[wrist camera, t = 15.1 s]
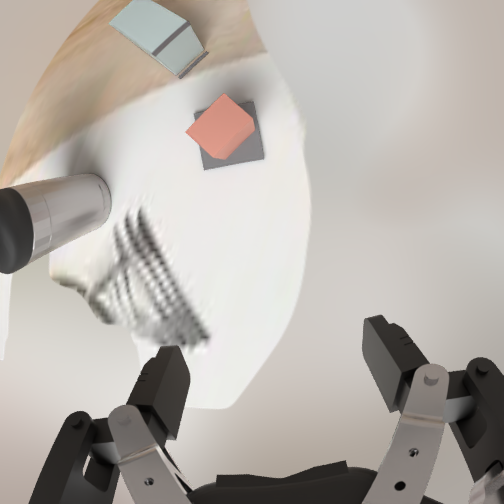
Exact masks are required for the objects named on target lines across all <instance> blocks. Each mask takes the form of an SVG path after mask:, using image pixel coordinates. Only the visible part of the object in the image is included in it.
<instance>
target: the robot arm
mask: <svg viewBox="0 0 504 504" xmlns="http://www.w3.org/2000/svg"><path fill="white" fill-rule="evenodd" d="M110 209H111V198H110V193H109V190H108V187H107V186H106V184H105V182H104V181H103V180H102V179H101V178H100V177H99V176H97V175H94V174H81V175H72V176H66V177H59V178H53V179H47V180H41V181H36V182H31V183H26V184H22V185H17V186H12V187H8V188H4V189H0V272H1V273H4V274H10V273H13V272H15V271H17V270H19V269H21V268H23V267H24V266H26V265H28V264H29V263H31V262H33V261H35V260H37V259H38V258H40V257H42V256H43V255H46V254H47V253H49V252H51V251H53V250H55V249H57V248H59V247H61V246H63V245H65V244H67V243H69V242H71V241H73V240H75V239H77V238H79V237H81V236H83V235H85V234H87V233H89V232H91V231H94V230H96V229H98V228H99V227H101V226H102V225H103V224H104V223H105V222H106V220H107V219H108V216H109V214H110ZM362 351H363V356H364V359H365V361H366V363H367V365H368V367H369V369H370V371H371V374H372V376H373V378H374V380H375V382H376V384H377V386H378V388H379V390H380V392H381V394H382V396H383V399H384V401H385V403H386V405H387V407H388V409H389V411H390V413H391V412H394V411H397V410H399V411H400V413H401V417H400V419H399V422H398V425H397V428H396V430H395V433H394V435H393V438H392V440H391V443H390V445H389V447H388V449H387V452H386V454H385V456H384V458H383V460H382V462H381V465H380V467H379V469H378V471H374V470H370V469H366V468H360V467H347V464H346V460H345V461H340V462H336V463H332V464H327V465H322V466H317V467H313V468H310V469H308V470H305V471H302V472H300V473H297V474H294V475H291V476H288V477H285V478H269V477H262V476H255V475H249V474H246V475H245V474H244V475H217V478H216V482H213V483H210V484H206V485H204V486H201V487H199V488H197V489H195V488H194V487H193V486H192V485H191V483H190V482H189V481H188V480H187V479H186V477H185V476H184V475H183V473H182V472H181V470H180V468H179V467H178V465H177V464H176V462H175V461H174V459H173V458H172V456H171V455H170V453H169V451H168V450H167V448H166V447H165V443H166V440H176V438H177V434H178V429H179V426H180V421H181V418H182V413H183V410H184V406H185V402H186V398H187V394H188V390H189V386H190V373H189V370H188V367H187V365H186V362H185V360H184V357H183V355H182V352H181V350H180V348H179V346H177V345H176V346H161V347H160V349H159V351H158V353H157V355H156V358H151V359H150V360H149V361H148V362H147V363H146V364H145V365H144V367H143V369H142V371H141V375H139V377H138V379H137V382H136V384H135V386H134V388H133V390H132V392H131V394H130V397H129V399H128V401H127V403H126V405H122V406H119V407H117V408H115V409H114V410H113V411H112V412H111V413H110V414H109V417H108V418H102V419H92V418H91V417H90V416H89V414H88V413H86V412H84V411H77V412H74V413H72V414H70V415H69V416H68V417H67V418H66V420H65V422H64V424H63V426H62V428H61V430H60V432H59V434H58V436H57V438H56V440H55V442H54V444H53V446H52V448H51V451H50V453H49V455H48V457H47V459H46V461H45V464H44V466H43V468H42V471H41V473H40V476H39V478H38V481H37V483H36V485H35V488H34V491H33V493H32V496H31V499H30V501H29V504H112V502H113V498H114V494H115V490H116V486H117V482H118V478H119V475H120V472H121V474H122V476H123V479H124V481H125V484H126V486H127V488H128V490H129V492H130V494H131V496H132V498H133V500H134V502H135V504H443V503H441V502H438V501H436V500H433V499H431V498H429V497H427V496H425V495H424V492H425V490H426V487H427V485H428V482H429V479H430V476H431V473H432V470H433V467H434V464H435V461H436V458H437V454H438V450H439V447H440V443H441V439H442V435H443V431H444V425H445V423H449V425H450V427H451V429H452V432H453V434H454V436H455V438H456V440H457V442H458V444H459V447H460V449H461V451H462V453H463V456H464V458H465V461H466V463H467V465H468V468H469V470H470V473H471V475H472V478H473V480H474V483H475V484H474V485H473V487H472V489H471V491H470V495H469V504H504V375H503V374H502V373H501V372H500V370H499V369H498V368H497V366H496V365H495V364H494V363H493V362H492V361H491V360H489V359H487V358H483V357H480V358H479V357H478V358H475V359H473V360H471V361H470V362H469V364H468V366H467V368H466V370H461V371H453V372H447V370H446V369H445V368H444V367H442V366H440V365H437V364H430V363H429V362H428V360H427V359H426V358H425V356H424V355H423V354H422V352H421V351H420V350H419V348H418V347H417V346H416V344H415V343H413V340H412V339H411V338H410V337H409V335H408V334H407V333H406V331H405V330H404V329H403V328H402V327H400V326H398V325H396V324H395V323H392V324H389V323H388V322H387V321H386V319H385V318H384V317H383V316H382V315H377V316H373V317H369V318H365V319H364V326H363V342H362ZM88 455H89V456H90V457H91V458H90V461H89V463H88V466H87V469H86V472H85V475H84V476H83V467H84V464H85V461H86V459H87V456H88Z"/></svg>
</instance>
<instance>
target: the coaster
mask: <svg viewBox="0 0 504 504" xmlns="http://www.w3.org/2000/svg"><path fill="white" fill-rule="evenodd" d="M237 105H238V106H239V107H241V108H242V109H243V110H244V111H245V112H246V113H247V114H248V115H250V116H251V117H252V118H253V122H254V126H255V131H254V132H253V133H252V134H251V135H250V136H249V137H248V138H247V139H246V140H245V141H244V142H243V143H242V144H241V145H240V146H239V147H238V148H236V149H235V150H234V151H233V153H232V154H231V155H230V156H229V157H228V158H227V159H226V160H225V159H218V158H213V157H212V156H211V155H210V154H209V153H207V152H206V151H205V150H204V149H203V148H202V147H201V146H200V145H199V146H200V151H201V157H202V162H203V167H204V170H208V169H213V168H218V167H223V166H228V165H233V164H239V163H244V162H250V161H256V160H262V159H264V155H263V150H262V144H261V139H260V133H259V128H258V123H257V117H256V112H255V107H254V102H248V103H242V104H237ZM204 112H205V111H204ZM204 112H200V113H196V114H194V117H195V121H196V120H197V119H198V118H199V117H200V116H201V115H202V114H203V113H204Z"/></svg>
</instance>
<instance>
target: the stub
mask: <svg viewBox="0 0 504 504" xmlns="http://www.w3.org/2000/svg"><path fill="white" fill-rule="evenodd" d="M254 131H255V126H254V122H253V118H252V117H251V116H250V115H248V114H247V113H246V112H245V111H244V110H243V109H242V108H241V107H239V106H238V105H237V104H236V103H235V102H234V101H233V100H231V99H230V98H229V97H228V96H227V95H226V94H224V93H223V94H222V95H221V96H220V97H219V98H218V99H217V100H216V101H215V102H214V103H213V104H212V105H211V106H210V107H209V108H208V109H207V110H206V111H205V112H204V113H203V114H202V115H201V116H200V117H199V118H198V119H197V120H196V121H195V122H194V123H193V124H192V125H191V126H190V127H189V129H188V130H187V131H186V133H187V134H188V135H189V136H190V137H191V138H192V139H193V140H194V141H196V142H197V143H198V144H199V145H200V146H201V147H202V148H203V149H204V150H205V151H206V152H207V153H209V154H210V155H211V156H212V157H213V158H218V159H225V160H226V159H227V158H228V157H229V156H230V155H231V154H232V153H233V151H234V150H235V149H236V148H238V147H239V146H240V145H241V144H242V143H243V142H244V141H245V140H246V139H247V138H248V137H249V136H250V135H251V134H252V133H253V132H254Z"/></svg>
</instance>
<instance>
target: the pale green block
mask: <svg viewBox="0 0 504 504" xmlns="http://www.w3.org/2000/svg"><path fill="white" fill-rule="evenodd" d="M108 24H110V25H111V26H112V27H113V28H115V29H116V30H117V31H119V32H120V33H121V34H122V35H124V36H125V37H126V38H128V39H129V40H130V41H131V42H132V43H134V44H135V45H136V46H138V47H139V48H140V49H142V50H143V51H145V52H146V53H147V54H149V55H150V56H151V57H153V58H154V59H155V60H157V61H158V62H159V63H161V64H162V65H163V66H164V67H166V68H167V69H168V70H170V71H171V72H172V73H173V74H175V75H177V74H178V73H179V72H181V71H182V70H183V69H184V68H185V67H186V66H187V65H188V64H189V63H190V62H191V61H192V60H193V59H194V58H195V57H197V56H198V55H199V54H200V53H201V52H202V51H203V50H204V49H203V47H202V45H201V43H200V41H199V40H198V38H197V36H196V34H195V33H194V31H193V29H192V27H191V26H190V25H191V24H190V23H189V21H186V20H185V19H183V18H181V17H180V16H178V15H176V14H175V13H173V12H171V11H169V10H168V9H166V8H164V7H162V6H161V5H159V4H157V3H155V2H153V1H151V0H133V1H132V2H130V3H129V4H128V5H127V6H126V7H125V8H124V9H123V10H122V11H121V12H120V13H119V14H118V15H116V16H115V17H114V18H113V19H112V20H111V21H110V22H109V23H108ZM207 54H208V52H207V51H206V52H205V53H204V54H203V55H202V56H200V57H199V58H198V59H197V60H196V61H195V62H194V63H193V64H192V65H191V66H190V67H188V68H187V69H186V70H185V71H184V72H183V73H182V74H181V75H180V76H179V77H178V78H180V79H181V78H182V77H183V76H184V75H185V74H186V73H187V72H188V71H190V70H191V69H192V68H193V67H194V66H195V65H196V64H197V63H198V62H199V61H200V60H201V59H203V58H204V57H205V56H206V55H207Z"/></svg>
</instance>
